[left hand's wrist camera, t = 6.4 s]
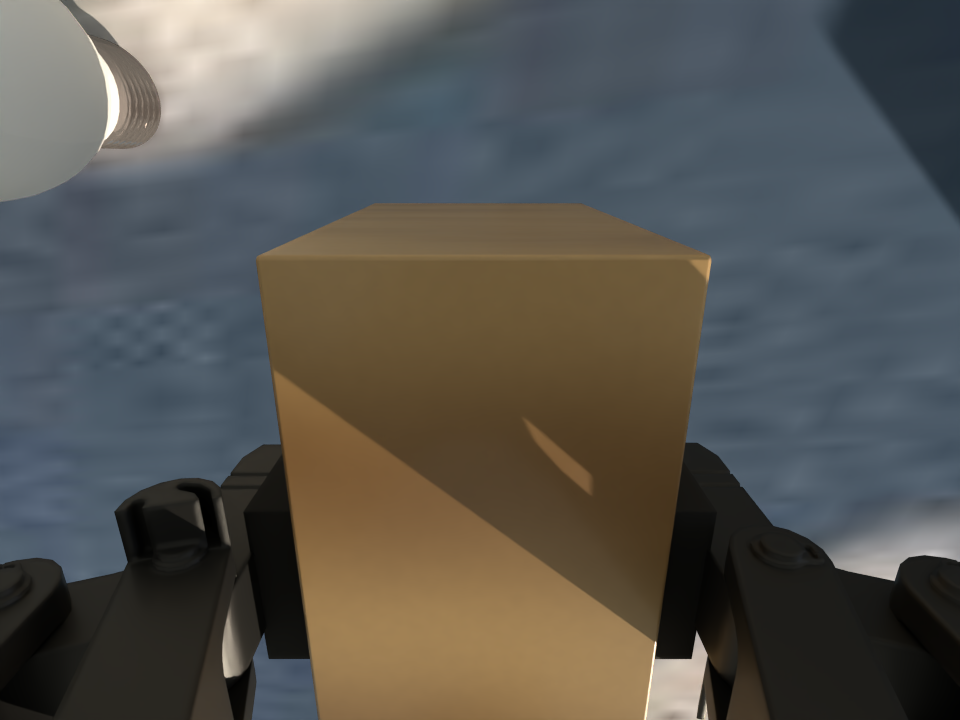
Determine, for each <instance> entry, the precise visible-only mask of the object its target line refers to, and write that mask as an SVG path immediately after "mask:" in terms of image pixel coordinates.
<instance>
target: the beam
mask: <svg viewBox="0 0 960 720" xmlns="http://www.w3.org/2000/svg"><path fill="white" fill-rule="evenodd" d="M256 264H257V271H258V279H259V286H260V294H261V301H262V308H263V316H264V323H265V330H266V338H267V345H268V353H269V360H270V367H271V375H272V382H273V389H274V397H275V404H276V411H277V419H278V426H279V434H280V441H281V448H282V456H283V463H284V470H285V478H286V485H287V493H288V500H289V507H290V515H291V522H292V529H293V537H294V544H295V552H296V559H297V566H298V574H299V581H300V588H301V596H302V603H303V610H304V618H305V625H306V633H307V640H308V647H309V655H310V662H311V669H312V677H313V684H314V692H315V699H316V706H317V714H318V720H646V715H647V708H648V701H649V694H650V687H651V680H652V673H653V666H654V659H655V652H656V645H657V638H658V631H659V624H660V617H661V610H662V603H663V596H664V589H665V582H666V575H667V568H668V561H669V554H670V547H671V540H672V533H673V525H674V518H675V511H676V504H677V497H678V490H679V483H680V476H681V469H682V462H683V455H684V448H685V441H686V434H687V427H688V420H689V413H690V406H691V399H692V392H693V385H694V378H695V371H696V364H697V357H698V350H699V343H700V336H701V329H702V322H703V315H704V308H705V301H706V294H707V287H708V280H709V272H710V265H711V257H710V256H709V255H707V254H705V253H702V252H700V251H697V250H695V249H692V248H690V247H687V246H685V245H682V244H680V243H677V242H675V241H672V240H670V239H668V238H665V237H663V236H660V235H658V234H655V233H653V232H650V231H648V230H645V229H643V228H640V227H638V226H635V225H633V224H631V223H628V222H626V221H623V220H621V219H618V218H616V217H613V216H611V215H608V214H606V213H603V212H601V211H598V210H596V209H593V208H591V207H589V206H586V205H584V204H581V203H375V204H373V205H370V206H368V207H366V208H364V209H361V210H359V211H357V212H355V213H353V214H350V215H348V216H346V217H344V218H341V219H339V220H337V221H335V222H332V223H330V224H328V225H326V226H324V227H321V228H319V229H317V230H315V231H312V232H310V233H308V234H306V235H304V236H301V237H299V238H297V239H295V240H292V241H290V242H288V243H286V244H283V245H281V246H279V247H277V248H275V249H272V250H270V251H268V252H266V253H263V254H261V255H259V256H257V259H256Z"/></svg>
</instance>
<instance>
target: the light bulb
mask: <svg viewBox="0 0 960 720" xmlns="http://www.w3.org/2000/svg"><path fill="white" fill-rule="evenodd" d="M160 116H161V107H160V99H159V96H158V92H157V89H156V87H155V85H154V83H153V81H152V79H151V77H150V76H149V74H148V73H147V71H146V70H145V69H144V67H143V66H142V65H141V64H140V63H139V62H138V61H137V60H136V59H135V58H134V57H133V56H132V55H131V54H129V53H128V52H127V51H126V50H124V49H123V48H121V47H119V46H118V45H116V44H113V43H111V42H109V41H107V40H104V39H101V38H98V37H94V36H92V35H88V34H87V33H86V32H85V31H84V29H83V28H82V27H81V25H80V24H79V22H78V21H77V20H76V18H75V17H74V16H73V15H72V13H71V12H70V11H69V9H68V8H67V7H66V6H65V5H64V4H63V3H62V2H61V1H60V0H0V202H3V201H9V200H15V199H20V198H25V197H30V196H35V195H37V194H40V193H42V192H45V191H47V190H50V189H52V188H54V187H56V186H58V185H60V184H62V183H64V182H66V181H68V180H69V179H71V178H72V177H74V176H75V175H76V174H78V173H79V172H80V171H82V170H83V169H84V167H85V166H86V165H87V164H88V163H89V162H90V160H91V159H92V158H93V157H94V156H95V154H96V153H97V152H98V151H99V150H100V148H115V149H125V148H133V147H136V146H139V145H142V144H144V143H145V142H146V141H148V140H149V139H150V138H151V137H152V136H153V134H154V133H155V131H156V130H157V128H158V125H159V121H160Z"/></svg>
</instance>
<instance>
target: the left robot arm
mask: <svg viewBox="0 0 960 720" xmlns="http://www.w3.org/2000/svg"><path fill="white" fill-rule="evenodd" d="M114 513H115V516H116V520H117V524H118V527H119V531H120V535H121V538H122V542H123V546H124V550H125V553H126V557H127V561H128V563H127V565H126V567H125V570H124V571H121V572H118V573H114V574H110V575H105V576H100V577H95V578H91V579H86V580H81V581H76V582H72V583H66V580H65V577H64V574H63V571H62V568H61V566H59V565H58V564H57V563H56V562H55V561H53V560H49V559H42V558H31V559H24V560H16V561H12V562H7V563H5V564H3V565H2V564H0V720H252V713H253V705H254V697H255V689H256V675H255V668H254V662H253V656H254V653H255V651H256V649H257V647H258V645H259V642H260V640H261V638H262V636H263V634H265V640H266V645H267V651H268V657H269V659H310V655H309V647H308V640H307V633H306V625H305V618H304V610H303V603H302V596H301V588H300V581H299V574H298V566H297V559H296V552H295V544H294V537H293V529H292V522H291V515H290V507H289V500H288V493H287V485H286V478H285V470H284V463H283V456H282V448H281V445H262V446H260V447H259V448H257V449H256V450H254V451H252V452H251V453H249V454H248V455H246V456H245V457H243V458H242V459H241V461H240V462H239V463H238V464H237V466H236V467H235V468H234V469H233V471H232V472H231V476H228V477H227V478H226V480H225V481H224V482H223V484H222V485H221V488H220V487H219V486H218V485H217V484H215V483H214V482H213V481H209V480H205V479H200V478H185V479H177V480H172V481H167V482H163V483H159V484H156V485H154V486H151V487H149V488H146V489H144V490H141V491H139V492H138V493H136V494H135V495H133V496H131V497H130V498H128V499H126V500H125V501H124V502H123V503H122V504H121V505H120V506H119V507H118V508H117V510H116V511H115V512H114ZM696 630H697V632H698V634H699V637H700V639H701V641H702V643H703V645H704V648H705V650H706V652H707V654H708V657H707V662H706V668H705V673H704V678H703V684H702V689H701V694H700V700H699V705H698V712H697V718H698V719H702V720H705V715H706V710H707V711H708V719H709V720H960V562H957V561H956V560H952V559H948V558H942V557H934V556H926V555H923V556H916V557H909V558H907V559H906V560H905V561H904V562H902V563H901V564H900V566H899V569H898V572H897V576H896V579H895V581H891V580H887V579H882V578H877V577H872V576H867V575H863V574H858V573H853V572H848V571H845V570H841V569H837V568H835V566H834V564H833V562H832V561H831V559H830V558H829V557H828V556H827V554H826V553H825V552H824V550H823V549H822V548H820V547H819V546H817V545H816V544H815V543H813V542H812V541H810V540H809V539H808V538H806V537H803V536H801V535H799V534H797V533H795V532H792V531H790V530H787V529H783V528H779V527H775V526H773V525H772V524H771V522H770V521H769V520H768V519H767V517H766V516H765V515H764V514H763V512H762V511H761V510H760V508H759V507H758V506H757V505H756V503H755V502H754V501H753V500H752V498H751V497H750V496H749V495H748V493H747V492H746V491H745V490H744V488H743V487H740V483H739V482H738V481H737V479H736V478H735V477H734V476H733V474H730V471H729V469H728V468H727V467H726V465H725V464H724V463H723V462H722V460H721V459H720V458H719V457H718V456H717V455H716V454H714V453H713V452H711V451H709V450H708V449H706V448H705V447H703V446H702V445H700V444H698V443H685V448H684V455H683V462H682V469H681V476H680V483H679V490H678V497H677V504H676V511H675V518H674V525H673V533H672V540H671V547H670V554H669V561H668V568H667V575H666V582H665V589H664V596H663V603H662V610H661V617H660V624H659V631H658V638H657V645H656V652H655V659H692V653H693V647H694V642H695V636H696Z"/></svg>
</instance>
